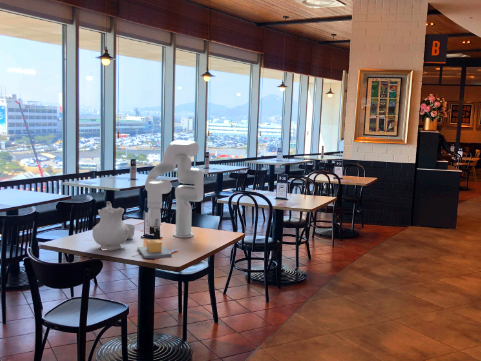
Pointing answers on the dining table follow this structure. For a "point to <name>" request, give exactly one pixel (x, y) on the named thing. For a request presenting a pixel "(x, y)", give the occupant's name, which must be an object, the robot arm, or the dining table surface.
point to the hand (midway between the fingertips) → (154, 236)
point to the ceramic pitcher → (110, 228)
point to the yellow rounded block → (154, 246)
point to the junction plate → (153, 253)
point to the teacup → (130, 230)
